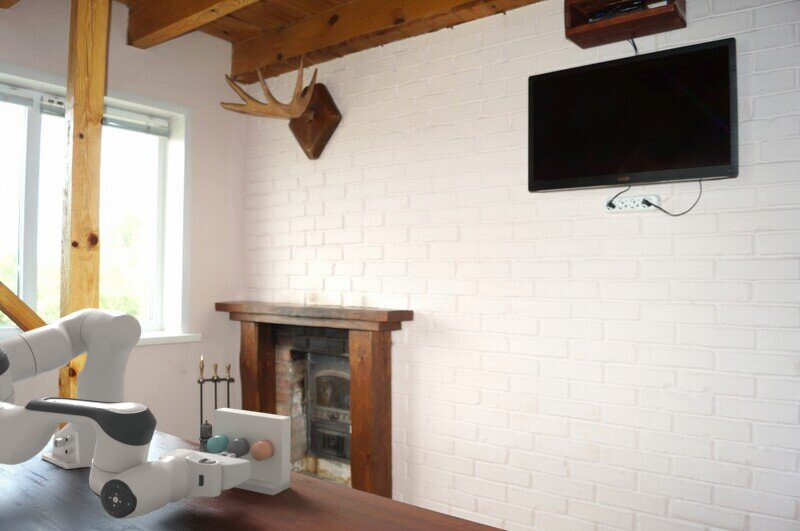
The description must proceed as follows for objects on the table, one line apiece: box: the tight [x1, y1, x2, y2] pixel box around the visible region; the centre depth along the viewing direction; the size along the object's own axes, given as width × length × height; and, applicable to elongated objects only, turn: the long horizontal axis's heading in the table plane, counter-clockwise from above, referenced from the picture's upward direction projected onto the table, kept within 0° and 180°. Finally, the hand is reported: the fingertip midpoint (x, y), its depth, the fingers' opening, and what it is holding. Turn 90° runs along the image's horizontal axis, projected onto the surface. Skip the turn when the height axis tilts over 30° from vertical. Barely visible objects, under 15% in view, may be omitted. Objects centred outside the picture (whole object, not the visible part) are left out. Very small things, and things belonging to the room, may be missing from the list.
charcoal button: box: [227, 438, 250, 458], centre depth 142 cm, size 4×3×4 cm
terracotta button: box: [251, 440, 274, 461], centre depth 140 cm, size 4×3×4 cm
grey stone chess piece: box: [198, 419, 213, 454], centre depth 157 cm, size 6×6×12 cm
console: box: [214, 407, 292, 496], centre depth 145 cm, size 20×6×16 cm, turn 63°
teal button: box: [207, 434, 229, 454], centre depth 145 cm, size 4×3×4 cm
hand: (230, 456), depth 137 cm, fingers closed
